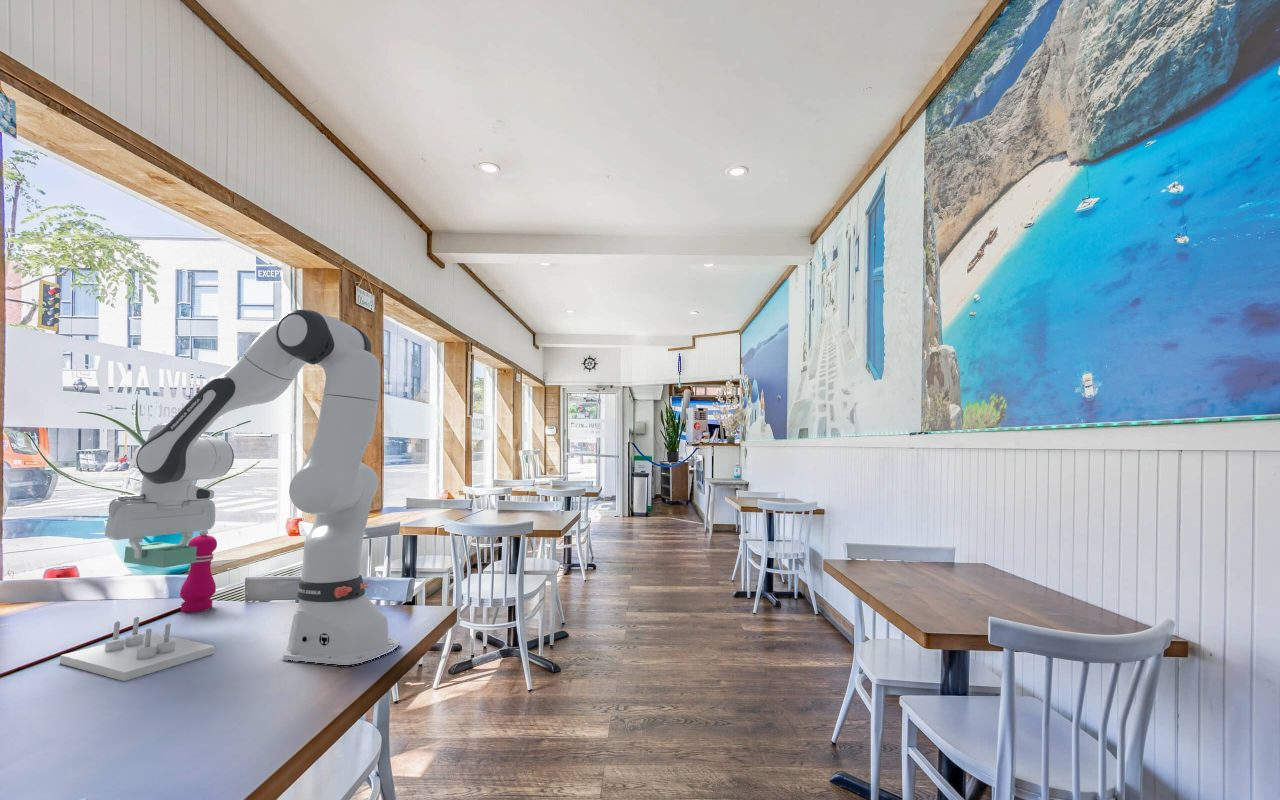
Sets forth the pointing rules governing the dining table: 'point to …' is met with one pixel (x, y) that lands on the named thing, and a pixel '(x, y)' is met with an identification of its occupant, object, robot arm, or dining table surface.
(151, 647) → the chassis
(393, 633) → the dining table surface
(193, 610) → the pepper mill
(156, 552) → the green block with holes
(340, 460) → the robot arm
